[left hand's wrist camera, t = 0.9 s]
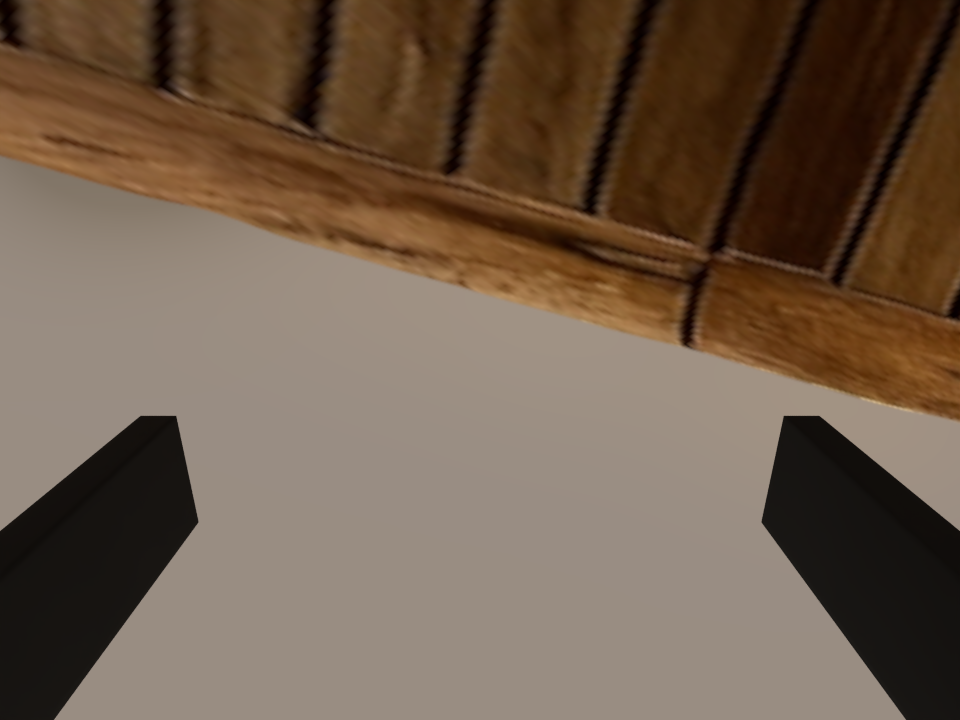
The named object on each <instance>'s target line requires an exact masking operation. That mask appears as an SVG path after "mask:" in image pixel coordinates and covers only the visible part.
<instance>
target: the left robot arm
mask: <svg viewBox="0 0 960 720" xmlns="http://www.w3.org/2000/svg"><path fill="white" fill-rule="evenodd" d="M197 524H198V517H197V513H196V508H195V503H194V498H193V494H192V489H191V484H190V479H189V475H188V470H187V465H186V460H185V456H184V451H183V446H182V441H181V437H180V432H179V427H178V422H177V418H176V416H140V417H139V418H138V419H136V420H135V421H134V422H133V423H131V424H130V425H129V426H128V427H127V428H125V429H124V430H123V431H122V432H120V433H119V434H118V435H117V436H116V437H114V438H113V439H112V440H111V441H109V442H108V443H107V444H106V445H105V446H103V447H102V448H101V449H100V450H99V451H97V452H96V453H95V454H94V455H92V456H91V457H90V458H89V459H88V460H86V461H85V462H84V463H83V464H81V465H80V466H79V467H78V468H77V469H75V470H74V471H73V472H72V473H71V474H69V475H68V476H67V477H66V478H64V479H63V480H62V481H61V482H59V483H58V484H57V485H56V486H55V487H54V488H52V489H51V490H50V491H49V492H47V493H46V494H45V495H44V496H42V497H41V498H40V499H39V500H38V501H36V502H35V503H34V504H33V505H31V506H30V507H29V508H28V509H27V510H25V511H24V512H23V513H22V514H20V515H19V516H18V517H17V518H16V519H14V520H13V521H12V522H11V523H9V524H8V525H7V526H6V527H5V528H3V529H2V530H1V531H0V720H54V719H55V718H56V716H57V715H58V713H59V712H60V711H61V709H62V708H63V707H64V705H65V704H66V702H67V701H68V700H69V698H70V697H71V696H72V694H73V693H74V692H75V690H76V689H77V687H78V686H79V685H80V683H81V682H82V680H83V679H84V678H85V677H86V675H87V674H88V672H89V671H90V670H91V668H92V667H93V666H94V664H95V663H96V661H97V660H98V659H99V657H100V656H101V655H102V653H103V652H104V651H105V649H106V648H107V646H108V645H109V644H110V642H111V641H112V640H113V638H114V637H115V636H116V634H117V633H118V631H119V630H120V629H121V627H122V626H123V625H124V623H125V622H126V620H127V619H128V618H129V616H130V615H131V614H132V612H133V611H134V610H135V608H136V607H137V606H138V604H139V603H140V601H141V600H142V599H143V597H144V596H145V595H146V593H147V592H148V590H149V589H150V588H151V586H152V585H153V584H154V582H155V581H156V580H157V578H158V577H159V575H160V574H161V573H162V571H163V570H164V569H165V567H166V566H167V565H168V563H169V562H170V560H171V559H172V558H173V556H174V555H175V554H176V552H177V551H178V550H179V548H180V547H181V545H182V544H183V543H184V541H185V540H186V539H187V537H188V536H189V534H190V533H191V532H192V530H193V529H194V528H195V526H196V525H197ZM762 524H763V525H764V526H765V528H766V529H767V530H768V532H769V533H770V534H771V536H772V537H773V539H774V540H775V541H776V543H777V544H778V545H779V547H780V548H781V549H782V551H783V552H784V554H785V555H786V556H787V558H788V559H789V560H790V562H791V563H792V564H793V566H794V567H795V569H796V570H797V571H798V573H799V574H800V575H801V577H802V578H803V580H804V581H805V582H806V584H807V585H808V586H809V588H810V589H811V590H812V592H813V593H814V595H815V596H816V597H817V599H818V600H819V601H820V603H821V604H822V606H823V607H824V608H825V610H826V611H827V612H828V614H829V615H830V616H831V618H832V619H833V621H834V622H835V623H836V625H837V626H838V627H839V629H840V630H841V631H842V633H843V634H844V636H845V637H846V638H847V640H848V641H849V642H850V644H851V645H852V646H853V648H854V649H855V651H856V652H857V653H858V655H859V656H860V657H861V659H862V660H863V662H864V663H865V664H866V666H867V667H868V668H869V670H870V671H871V672H872V674H873V675H874V677H875V678H876V679H877V681H878V682H879V683H880V685H881V686H882V687H883V689H884V690H885V692H886V693H887V694H888V696H889V697H890V698H891V700H892V701H893V702H894V704H895V705H896V707H897V708H898V709H899V711H900V712H901V713H902V715H903V716H904V717H905V719H906V720H960V531H959V530H958V529H957V528H955V527H954V526H953V525H952V524H951V523H949V522H948V521H947V520H946V519H944V518H943V517H942V516H941V515H940V514H938V513H937V512H936V511H935V510H933V509H932V508H931V507H930V506H929V505H927V504H926V503H925V502H924V501H922V500H921V499H920V498H919V497H918V496H916V495H915V494H914V493H913V492H911V491H910V490H909V489H908V488H907V487H905V486H904V485H903V484H902V483H901V482H899V481H898V480H897V479H896V478H894V477H893V476H892V475H891V474H890V473H888V472H887V471H886V470H885V469H883V468H882V467H881V466H880V465H879V464H877V463H876V462H875V461H874V460H872V459H871V458H870V457H869V456H868V455H866V454H865V453H864V452H863V451H861V450H860V449H859V448H858V447H857V446H855V445H854V444H853V443H852V442H850V441H849V440H848V439H847V438H846V437H844V436H843V435H842V434H841V433H839V432H838V431H837V430H836V429H835V428H833V427H832V426H831V425H830V424H829V423H827V422H826V421H825V420H824V419H822V418H821V417H820V416H784V418H783V422H782V427H781V432H780V437H779V441H778V446H777V451H776V456H775V460H774V465H773V470H772V475H771V479H770V484H769V489H768V494H767V498H766V503H765V508H764V513H763V517H762Z"/></svg>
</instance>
